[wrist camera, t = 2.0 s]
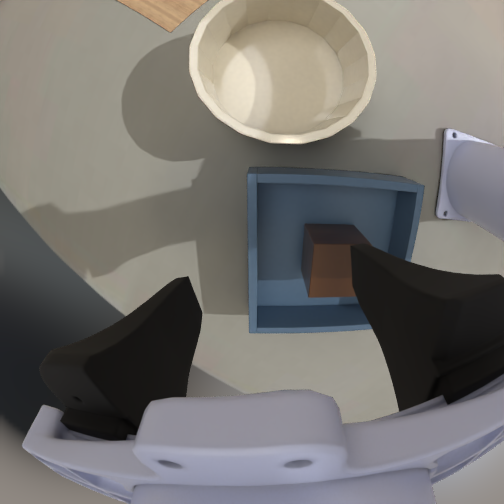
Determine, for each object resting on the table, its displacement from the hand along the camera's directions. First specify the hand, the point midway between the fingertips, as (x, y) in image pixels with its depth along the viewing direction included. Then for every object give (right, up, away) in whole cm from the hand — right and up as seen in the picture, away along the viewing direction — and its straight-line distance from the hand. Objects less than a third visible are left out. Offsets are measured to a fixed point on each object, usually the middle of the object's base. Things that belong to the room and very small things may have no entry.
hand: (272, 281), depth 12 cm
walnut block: (+5, +2, +9) cm, 11 cm away
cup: (+1, +14, +4) cm, 14 cm away
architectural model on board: (-10, +31, -3) cm, 33 cm away
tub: (+5, +2, +10) cm, 11 cm away
